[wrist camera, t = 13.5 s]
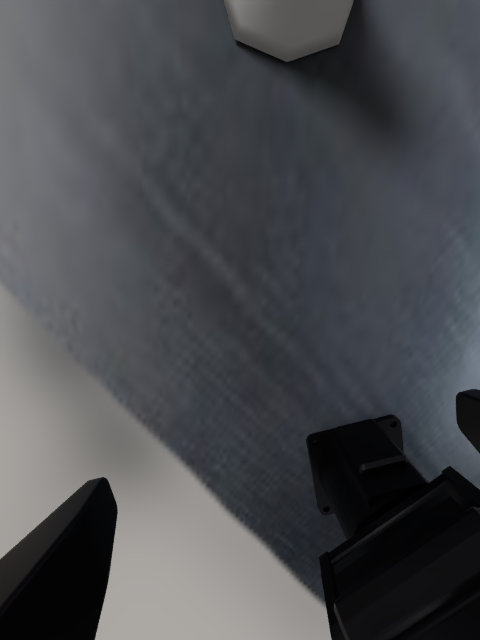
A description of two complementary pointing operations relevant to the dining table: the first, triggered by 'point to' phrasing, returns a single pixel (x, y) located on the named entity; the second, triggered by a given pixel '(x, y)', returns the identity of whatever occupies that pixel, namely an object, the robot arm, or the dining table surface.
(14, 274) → the dining table surface
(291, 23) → the flask
